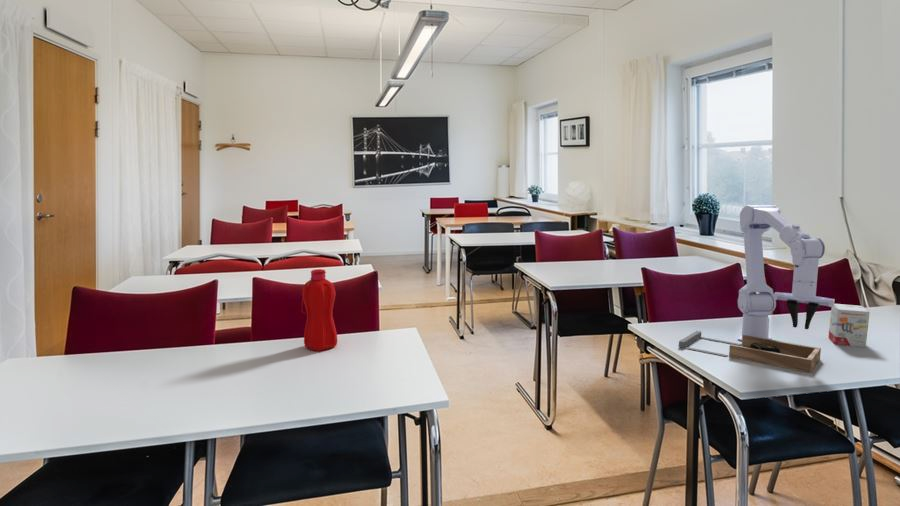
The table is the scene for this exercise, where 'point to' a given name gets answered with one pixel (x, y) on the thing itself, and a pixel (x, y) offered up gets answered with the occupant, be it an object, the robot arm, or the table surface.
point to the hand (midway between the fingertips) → (800, 327)
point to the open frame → (778, 354)
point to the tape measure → (764, 347)
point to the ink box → (849, 325)
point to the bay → (697, 335)
